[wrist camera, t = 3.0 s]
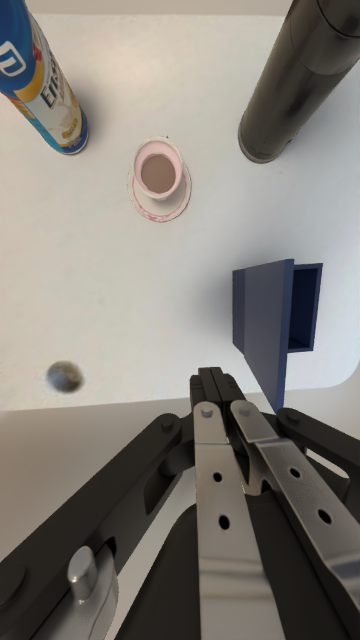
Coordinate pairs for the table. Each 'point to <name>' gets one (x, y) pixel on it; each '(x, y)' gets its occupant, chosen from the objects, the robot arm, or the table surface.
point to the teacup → (159, 180)
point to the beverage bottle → (38, 80)
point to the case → (301, 307)
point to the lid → (268, 326)
